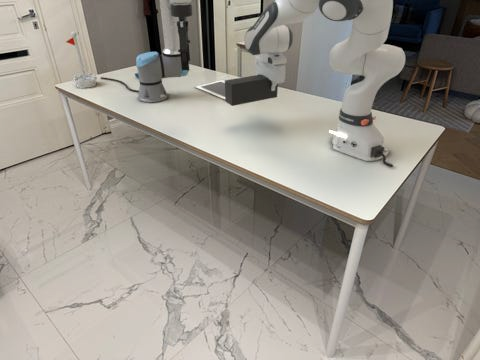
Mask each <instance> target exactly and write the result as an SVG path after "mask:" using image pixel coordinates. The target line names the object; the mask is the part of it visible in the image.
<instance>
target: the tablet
mask: <svg viewBox="0 0 480 360" xmlns="http://www.w3.org/2000/svg"><path fill="white" fill-rule="evenodd" d="M194 88H195V89H198V90H201V91H203V92H205V93H207V94H209V95H212V96H214V97H216V98H219V99H221V100H224V101H225V80H223V79H221V80H216V81H213V82H208V83H204V84H201V85H196V86H194Z"/></svg>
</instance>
